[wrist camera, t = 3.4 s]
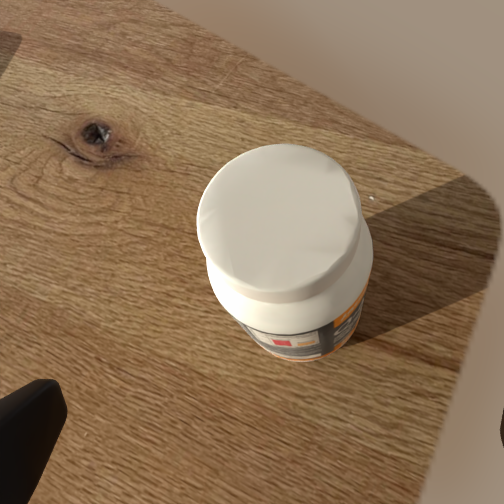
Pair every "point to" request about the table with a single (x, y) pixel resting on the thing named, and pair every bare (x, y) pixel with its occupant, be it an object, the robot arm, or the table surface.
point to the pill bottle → (287, 249)
